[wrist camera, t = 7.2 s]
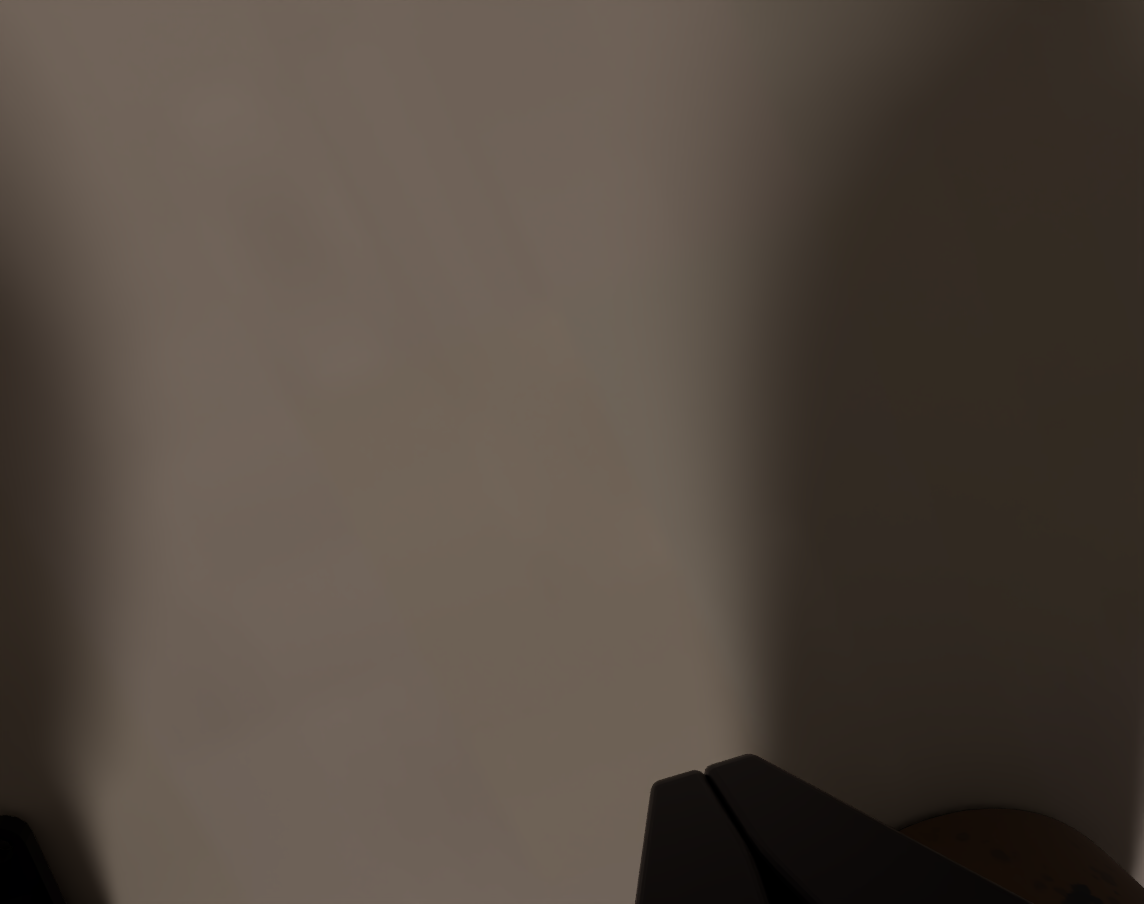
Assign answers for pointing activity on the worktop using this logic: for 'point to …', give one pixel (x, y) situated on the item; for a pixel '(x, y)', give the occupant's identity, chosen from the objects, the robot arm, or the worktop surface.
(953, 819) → the olive oil
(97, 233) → the worktop surface
